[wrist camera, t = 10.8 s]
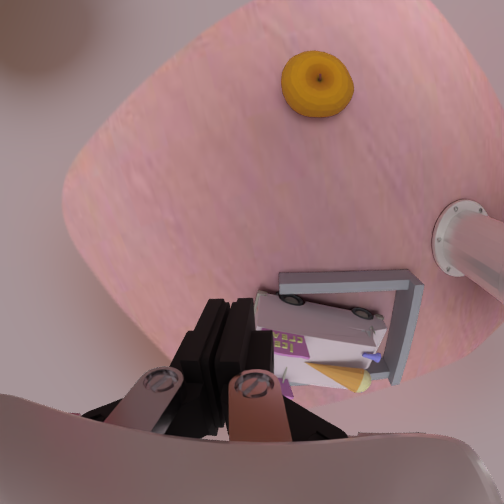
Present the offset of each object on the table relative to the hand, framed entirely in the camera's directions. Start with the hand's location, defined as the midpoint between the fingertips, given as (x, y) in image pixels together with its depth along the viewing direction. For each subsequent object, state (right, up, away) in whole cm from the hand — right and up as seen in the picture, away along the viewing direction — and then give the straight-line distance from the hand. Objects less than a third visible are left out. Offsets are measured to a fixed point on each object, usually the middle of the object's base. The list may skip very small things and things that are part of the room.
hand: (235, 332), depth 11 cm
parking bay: (+15, -8, +33) cm, 37 cm away
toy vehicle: (+10, -7, +34) cm, 36 cm away
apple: (+9, +24, +24) cm, 35 cm away
